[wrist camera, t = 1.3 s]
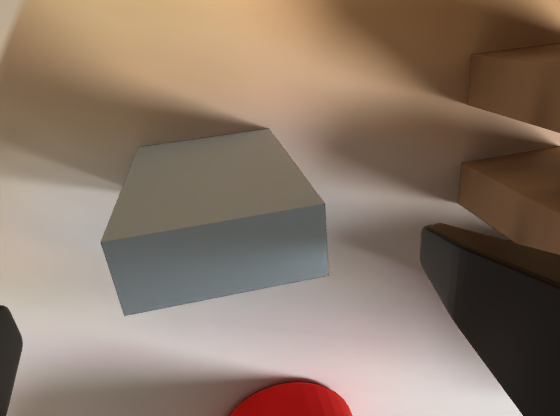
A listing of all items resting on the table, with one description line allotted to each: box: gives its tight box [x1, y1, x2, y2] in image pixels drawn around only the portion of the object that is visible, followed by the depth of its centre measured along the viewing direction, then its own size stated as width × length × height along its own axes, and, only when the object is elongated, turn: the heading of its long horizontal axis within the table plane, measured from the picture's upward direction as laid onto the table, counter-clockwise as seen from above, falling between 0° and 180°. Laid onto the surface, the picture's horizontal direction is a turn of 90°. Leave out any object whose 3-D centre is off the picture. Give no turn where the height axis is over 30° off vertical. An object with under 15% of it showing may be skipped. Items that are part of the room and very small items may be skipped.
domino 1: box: [101, 129, 329, 316], centre depth 13 cm, size 5×2×8 cm, turn 96°
